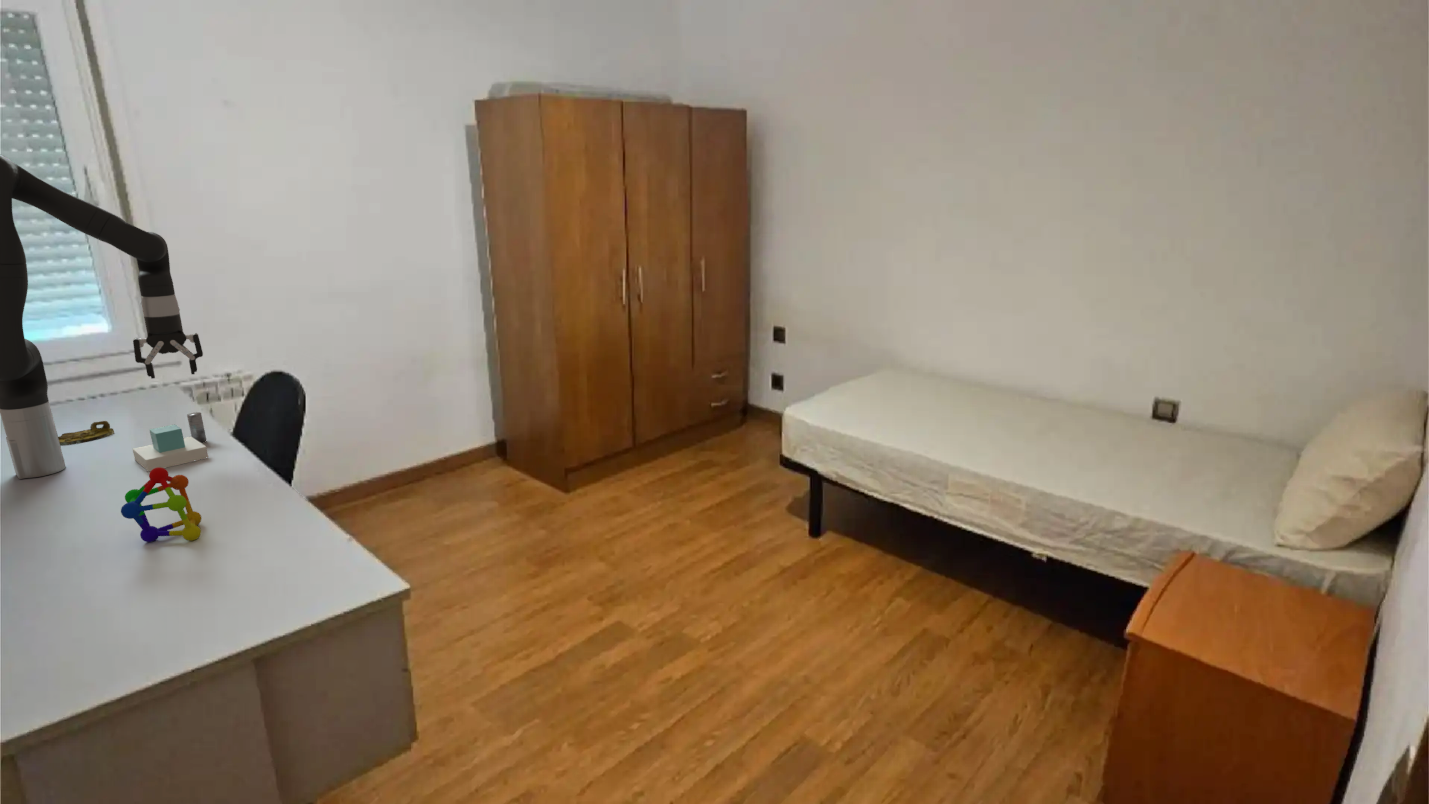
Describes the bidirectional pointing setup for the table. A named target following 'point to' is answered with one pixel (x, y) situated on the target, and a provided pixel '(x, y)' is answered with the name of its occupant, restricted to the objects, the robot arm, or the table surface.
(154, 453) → the board
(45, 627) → the table surface
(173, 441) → the frosted teal cube
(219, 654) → the table surface
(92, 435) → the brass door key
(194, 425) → the peg
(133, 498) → the educational toy
